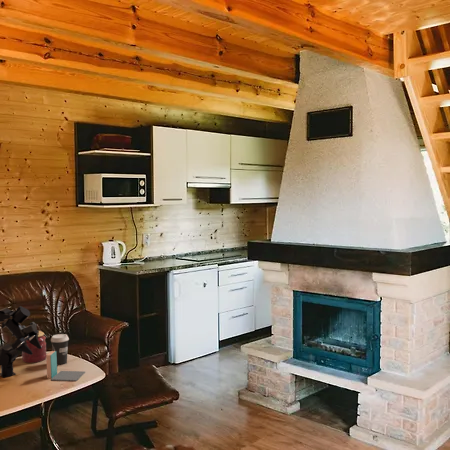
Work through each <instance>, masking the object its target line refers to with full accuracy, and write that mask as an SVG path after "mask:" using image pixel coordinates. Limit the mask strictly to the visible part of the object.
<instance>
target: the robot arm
mask: <svg viewBox="0 0 450 450" xmlns="http://www.w3.org/2000/svg"><path fill="white" fill-rule="evenodd" d="M30 316H31V312H30V310H29V309H28V308H25V307H23V306H21V305H20V306H18V307H17V308H16V310H11V309H9V308H8V307H4V308H1V309H0V322H2V323H1V329H5V328H6V329H8V331H9V332H10V333H11V336H12V337H15V338H16V340H15V341H13V343H11V344H10V343H9V344H5V345H3V346H2V345H0V371H1V373H0V377H2V378H3V379H4V378H8V377H11V376H16V375H17V373H16V372H15V371H14V362H15V361H16V359H17V358H18V356H19V352H21V353H22V352H25V353H27V354H30V355H32V354H33V353H32V351H31V350H30V348H29V347H28V346H27V341H26V340H28V341H29V343H31V344H32V345H34V346H35V347H37V348H39V349H41V348H42V347H41V345H40V343H39V340H38V335H39V331H40V330H38V328H37V327H38V324H37V323H35V322H34V321H32V322H30V323H29V325H28V326H25V325H22V323H24V321H26V320H27V319H28V318H29V317H30ZM24 341H25V342H24Z"/></svg>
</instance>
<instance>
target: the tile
mask: <svg viewBox="0 0 450 450" xmlns="http://www.w3.org/2000/svg"><path fill="white" fill-rule="evenodd" d="M45 360H46V378H47V379H52V378H53V377H54V376H55V375H57V374H58V365H57V355H56V351H53V350H51V351H50V352H48V353H47V355H46V359H45Z"/></svg>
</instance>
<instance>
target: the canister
mask: <svg viewBox="0 0 450 450" xmlns="http://www.w3.org/2000/svg"><path fill="white" fill-rule="evenodd" d="M38 331H39V335H38V340H39V343H40V345H41V347H42V348H41V349H39V348H37V347H35V346H34V345H32V344H31V343H29V341H28V340H26V341H27V346H28V347H29V348H30V350H31V351H32V353H33V354H32V355H30V354H27V353H25V352H22V351H21V358H22V362H23V363H26V364H27V363H28V364H34V363H35V364H36V363H40V362H42V361H44V360H46V355H47V354H48V353H47V342H46V339H47V337H46V336H45V333H44V332H43V331H41V330H38ZM24 342H25V341H24Z"/></svg>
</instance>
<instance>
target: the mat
mask: <svg viewBox="0 0 450 450" xmlns="http://www.w3.org/2000/svg"><path fill="white" fill-rule="evenodd" d="M85 373H86V371H83V370H82V371H80V370H60V371H59V372H57V375H55V376H54V377H53V378H50V381H53V382H55V381H57V382H58V381H59V382H60V381H61V382H77V381H78V380H79V379H80V378H81V377H82V376H84V374H85Z"/></svg>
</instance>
